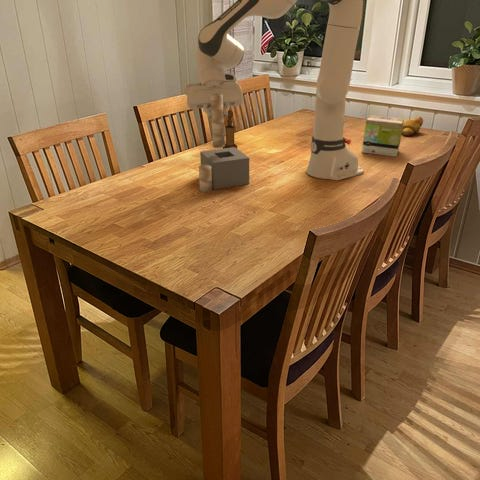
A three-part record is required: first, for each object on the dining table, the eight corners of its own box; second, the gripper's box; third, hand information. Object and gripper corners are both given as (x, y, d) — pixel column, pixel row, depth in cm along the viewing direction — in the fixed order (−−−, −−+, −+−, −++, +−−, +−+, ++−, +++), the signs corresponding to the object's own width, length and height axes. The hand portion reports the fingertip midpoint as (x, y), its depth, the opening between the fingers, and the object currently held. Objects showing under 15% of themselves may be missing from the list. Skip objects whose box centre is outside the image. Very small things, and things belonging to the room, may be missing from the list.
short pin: (209, 187, 171) (208, 164, 167) (213, 191, 167) (213, 167, 163) (198, 189, 169) (197, 165, 165) (202, 193, 166) (201, 169, 162)
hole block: (234, 171, 185) (234, 147, 181) (249, 183, 174) (249, 157, 169) (201, 176, 181) (200, 151, 176) (213, 189, 169) (213, 162, 165)
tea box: (361, 153, 206) (365, 119, 199) (364, 146, 214) (369, 114, 207) (396, 157, 201) (402, 123, 194) (399, 150, 209) (404, 117, 202)
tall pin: (222, 143, 173) (220, 93, 165) (226, 146, 170) (224, 95, 161) (211, 145, 172) (208, 94, 163) (215, 148, 168) (212, 97, 160)
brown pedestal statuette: (235, 154, 205) (235, 112, 196) (221, 153, 206) (220, 111, 198) (238, 149, 211) (238, 109, 202) (224, 148, 212) (224, 108, 203)
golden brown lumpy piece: (412, 138, 226) (415, 121, 222) (393, 134, 232) (396, 118, 228) (422, 132, 235) (425, 116, 231) (403, 129, 240) (406, 113, 237)
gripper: (183, 79, 164) (188, 113, 160) (240, 75, 168) (246, 109, 164) (183, 89, 170) (188, 123, 166) (238, 86, 174) (244, 118, 170)
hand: (217, 116), depth 165 cm, fingers closed on tall pin, 4 cm apart
